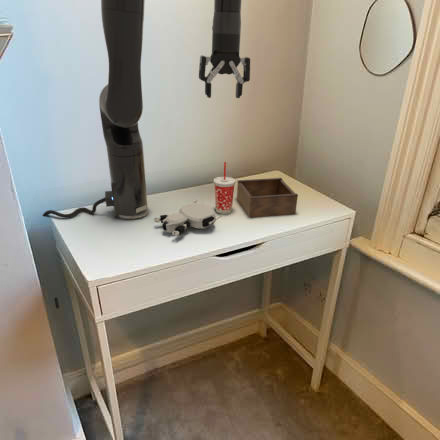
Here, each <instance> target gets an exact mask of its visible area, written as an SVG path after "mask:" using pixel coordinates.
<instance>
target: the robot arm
mask: <svg viewBox="0 0 440 440" xmlns="http://www.w3.org/2000/svg"><path fill="white" fill-rule="evenodd" d="M145 1H146V0H100V12H101V13H100V14H101V23H102V29H103V35H104V41H105V46H106V52H107V57H108V77H107V84H106V85H105V86H103V88H102V89H101V91H100V94H99V99H98V105H99V115H100V120H101V127H102V128H101V129H102V135H103V140H104V142H105V146H106V153H107V163H108V169H109V178H110V187H111V190H105V191H104V196H105V197H103V198H101V199H98V200H97V201H96V202H94V203H93V205H92V208H91V209H89V208H87V207H78V208H77V209H75V210H74V211H73V212H70V213H61V212H59V211H56V210H52V209H49V210H46V211H44V212H43V214H42V217H47V216H49V215H54V216H57V217H60V218H63V219H67V218H68V219H69V218H73V217H75V216H76V215H78V213H81V212H86V213H87V214H90V215H93V214H95V213H96V211H97V207H98V206H99V205H100V204H102V203H104V202H105V206H106V207H113V213H114V218H115V219H122V220H138V219H141V218H144V217H146V216H147V215H148V214H149V207H148V206H149V205H148V196H147V182H146V180H147V179H146V169H145V156H144V155H145V153H144V145H143V143H144V142H143V140H142V137H141V133H140V129H139V121H140V120H141V117H142V116H143V115H142V114H143V109H144V107H143V106H144V103H143V100H144V99H143V89H142V88H143V86H142V53H143V40H144V38H143V37H144V21H145ZM213 8H214V9H213V18H212V26H211V32H212V33H211V34H212V35H211V55H210V56H206V55H200V56H199V67H198V79H199V80H201V82H204V94H205V96H206V98H208V99H211V98H212V81H213V80H214V79H215V78H216V76H217V75H218V74H219V75H232V76H233V77H234V78H235V80H236V82H235V83H236V84H235V99H240V98H241V97H242V95H243V86H244V83H247V82H249V81H250V80H251V58H250V57H248V56H244V57H240V49H241V31H242V0H214V1H213ZM209 62H210V64H211V65H212V68H210V70H209V72H208V73H207V75H206V68H207V67H206V66H208V64H209ZM240 64H241V66H242V67H243V68H242V69H243V73H242V75H241V73H240V71H239V70H238V67H239V65H240ZM53 301H54V304H55V305H54V306H55V308H56V309H60V304H59V298H58V297H53Z"/></svg>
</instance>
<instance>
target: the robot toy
mask: <svg viewBox="0 0 440 440" xmlns="http://www.w3.org/2000/svg"><path fill="white" fill-rule="evenodd" d="M197 201H198V200H197V199H195V200H193V201H192V202H191V203H190V202H189V203H188V204H187V203H186V204H184V205H182V206H181V207H180V209H179V212H176V213H172V214H161V215H159V217H158V216H157V217H154V218H153V220H154V221H153V222H154V223H160V224H162V225H161V229H162V230H163V231H166V233H171V235H172V236H175V237H179V236H181V235H183V234H184V233H185V230H186V229H188V228H190V227H191V228H195V229H206V228H209V227H210V226H212V225H214V224H215V223H216V222H217V220H218V219H221V218H222V216H223V215H221V214H220V215H218V217H216V215H217V214H216V213H217V212H216V210H214V209H213V208H212V207H211V206H209V205H207V204H205V203H201V202H197Z"/></svg>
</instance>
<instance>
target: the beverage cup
mask: <svg viewBox="0 0 440 440" xmlns="http://www.w3.org/2000/svg"><path fill="white" fill-rule="evenodd" d="M226 174H227V161H224V162H223V176H218V177H215V178H214V179H213V185H214V201H215V202H214V203H215V213H218V214H223V215H226V214H230V213H232V211H233V201H234V192H235V185H236V179H235V178H234V177H231V176H227V175H226Z"/></svg>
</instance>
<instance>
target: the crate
mask: <svg viewBox="0 0 440 440" xmlns="http://www.w3.org/2000/svg"><path fill="white" fill-rule="evenodd" d="M236 185H237V186H236V187H237V188H236V199H237V202H238V203H239V204H240V206H241V207H242V209H243V210H244V212H245V213H246V215H247V216H248V217H249V218H260V217H261V218H263V217H271V216H272V217H273V216H285V215H296V213H297V204H298V197H299V194H298V193H296V192H295V191H294V190H293V189H292V188H291V187H290V186H289V185H288V184H287V183H286V181H284V180H283V178H282V177H271V178H269V177H268V178H254V179H253V178H251V179H238V180H237V184H236Z"/></svg>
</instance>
